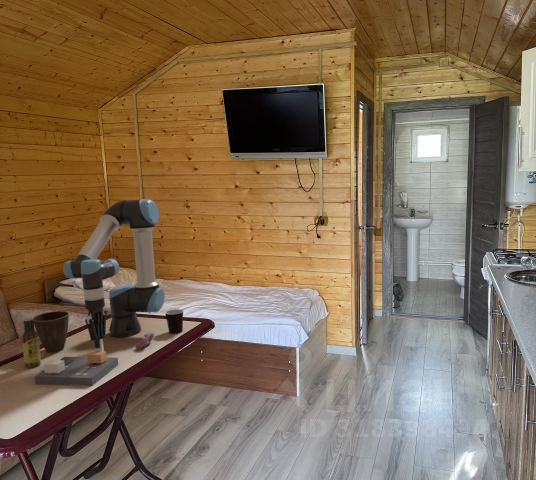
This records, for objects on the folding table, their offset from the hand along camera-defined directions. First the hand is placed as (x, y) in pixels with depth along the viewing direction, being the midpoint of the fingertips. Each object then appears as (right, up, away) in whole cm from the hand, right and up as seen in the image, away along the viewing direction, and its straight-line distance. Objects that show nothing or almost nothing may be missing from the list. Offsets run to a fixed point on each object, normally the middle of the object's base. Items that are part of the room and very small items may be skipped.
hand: (100, 354), depth 206 cm
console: (-7, -6, -5) cm, 11 cm away
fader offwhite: (-14, -4, -10) cm, 18 cm away
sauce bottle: (-30, -6, +7) cm, 31 cm away
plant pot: (-29, -4, +25) cm, 38 cm away
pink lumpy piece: (+13, -1, +23) cm, 26 cm away
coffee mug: (+23, +2, +39) cm, 46 cm away
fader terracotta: (0, -2, -2) cm, 3 cm away
